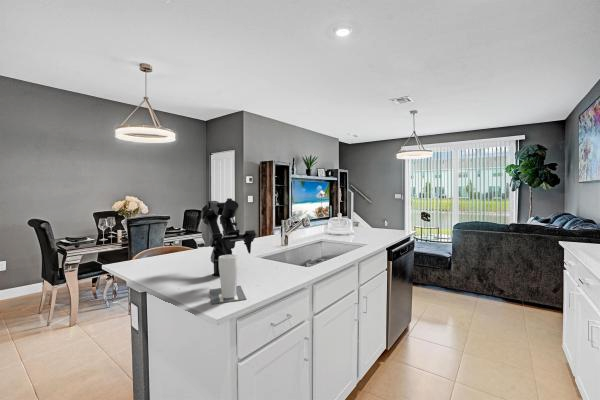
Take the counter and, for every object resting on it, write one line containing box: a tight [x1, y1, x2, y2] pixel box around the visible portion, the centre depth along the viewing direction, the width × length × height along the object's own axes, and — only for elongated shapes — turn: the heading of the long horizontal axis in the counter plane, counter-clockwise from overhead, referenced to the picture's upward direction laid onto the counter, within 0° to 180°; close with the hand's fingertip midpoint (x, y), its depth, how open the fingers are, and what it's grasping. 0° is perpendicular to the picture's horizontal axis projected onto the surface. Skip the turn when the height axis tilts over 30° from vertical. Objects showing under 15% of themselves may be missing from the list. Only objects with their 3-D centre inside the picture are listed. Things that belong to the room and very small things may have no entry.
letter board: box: [209, 285, 247, 305], centre depth 112 cm, size 16×12×1 cm
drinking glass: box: [219, 254, 239, 299], centre depth 109 cm, size 7×7×15 cm
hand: (239, 254), depth 119 cm, fingers open, 9 cm apart
